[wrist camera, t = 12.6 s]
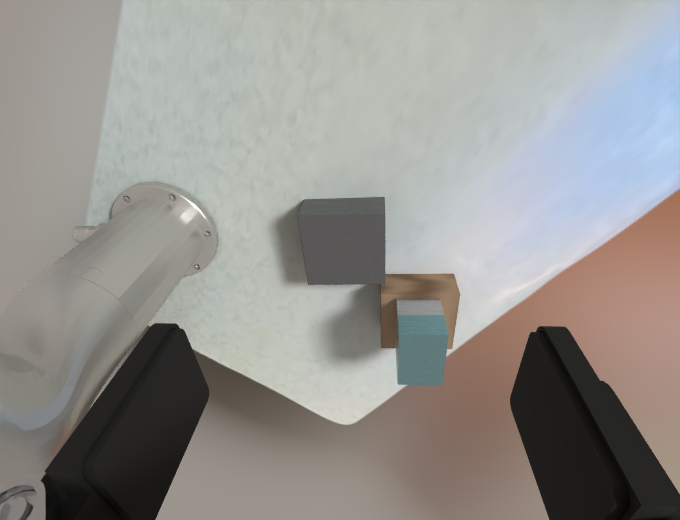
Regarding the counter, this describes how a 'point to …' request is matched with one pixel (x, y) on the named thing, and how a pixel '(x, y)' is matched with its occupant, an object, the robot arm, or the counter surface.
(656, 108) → the counter surface
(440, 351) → the teal and grey block
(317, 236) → the stand
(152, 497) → the robot arm
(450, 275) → the stand
